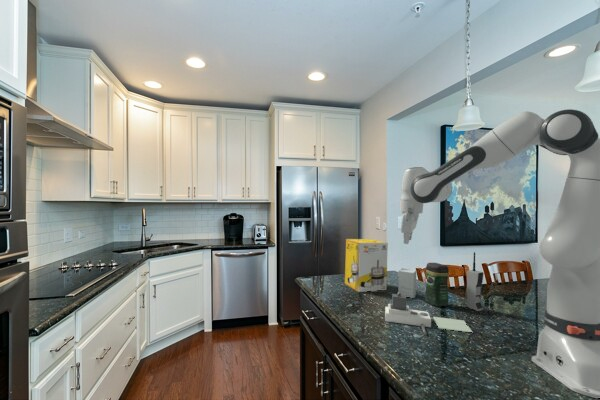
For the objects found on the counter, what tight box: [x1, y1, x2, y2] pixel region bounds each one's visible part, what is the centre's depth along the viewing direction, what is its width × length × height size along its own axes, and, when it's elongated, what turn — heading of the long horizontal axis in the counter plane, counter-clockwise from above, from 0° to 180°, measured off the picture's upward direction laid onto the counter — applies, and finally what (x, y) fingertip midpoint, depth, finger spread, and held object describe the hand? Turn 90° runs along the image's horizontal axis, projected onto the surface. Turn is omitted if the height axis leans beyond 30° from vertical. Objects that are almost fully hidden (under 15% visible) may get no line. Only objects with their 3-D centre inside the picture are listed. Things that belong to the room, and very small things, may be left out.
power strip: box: [384, 303, 432, 337], centre depth 108 cm, size 16×16×4 cm
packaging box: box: [344, 238, 389, 293], centre depth 157 cm, size 16×16×25 cm
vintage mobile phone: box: [466, 251, 484, 312], centre depth 127 cm, size 4×5×25 cm
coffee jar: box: [424, 262, 450, 307], centre depth 133 cm, size 10×8×19 cm
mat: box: [432, 316, 474, 334], centre depth 109 cm, size 11×11×1 cm
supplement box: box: [397, 268, 417, 299], centre depth 144 cm, size 7×7×13 cm
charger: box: [391, 292, 407, 311], centre depth 113 cm, size 4×5×7 cm
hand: (407, 241), depth 117 cm, fingers open, 8 cm apart
